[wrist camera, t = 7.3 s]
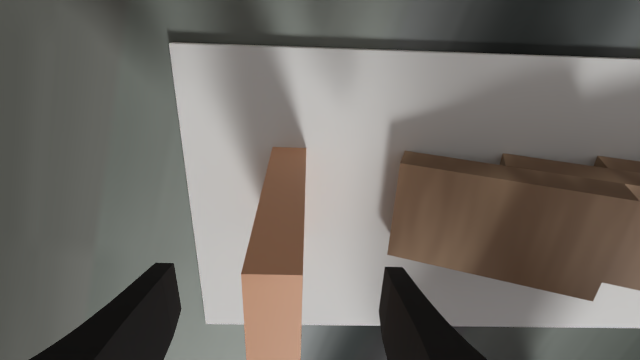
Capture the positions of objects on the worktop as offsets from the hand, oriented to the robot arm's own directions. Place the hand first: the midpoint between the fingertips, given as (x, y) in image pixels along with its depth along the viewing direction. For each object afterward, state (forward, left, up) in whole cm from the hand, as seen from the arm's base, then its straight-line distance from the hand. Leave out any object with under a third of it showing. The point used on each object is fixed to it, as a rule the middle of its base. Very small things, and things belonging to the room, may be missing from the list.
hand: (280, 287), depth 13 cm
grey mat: (-1, -10, -7) cm, 12 cm away
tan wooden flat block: (0, 0, -7) cm, 7 cm away
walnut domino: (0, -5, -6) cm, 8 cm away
